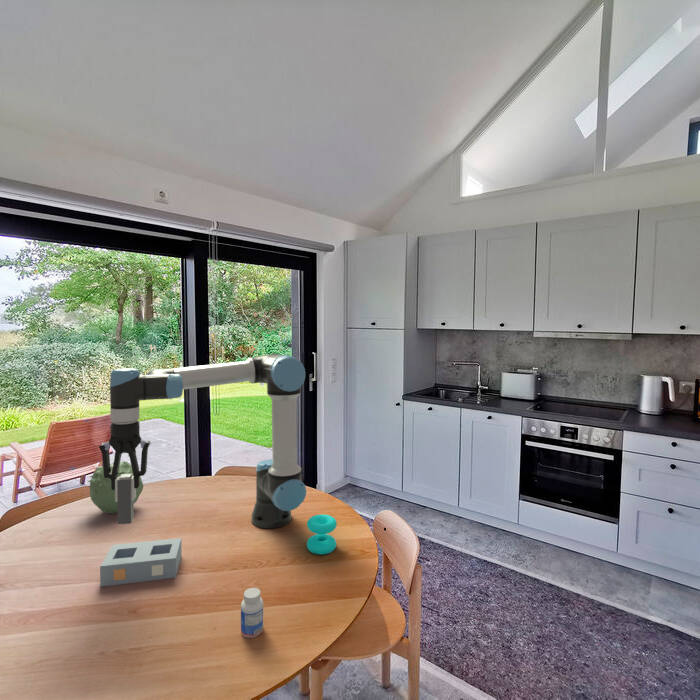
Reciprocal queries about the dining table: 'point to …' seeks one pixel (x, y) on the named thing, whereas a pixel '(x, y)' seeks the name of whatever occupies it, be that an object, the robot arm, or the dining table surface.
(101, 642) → the dining table surface
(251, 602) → the pill bottle
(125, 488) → the plug
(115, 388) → the robot arm
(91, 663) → the dining table surface
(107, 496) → the cabbage
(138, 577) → the socket block
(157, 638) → the dining table surface
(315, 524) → the turquoise spool
